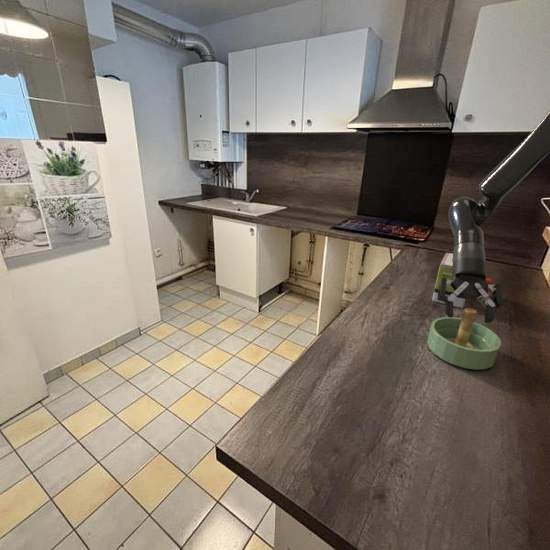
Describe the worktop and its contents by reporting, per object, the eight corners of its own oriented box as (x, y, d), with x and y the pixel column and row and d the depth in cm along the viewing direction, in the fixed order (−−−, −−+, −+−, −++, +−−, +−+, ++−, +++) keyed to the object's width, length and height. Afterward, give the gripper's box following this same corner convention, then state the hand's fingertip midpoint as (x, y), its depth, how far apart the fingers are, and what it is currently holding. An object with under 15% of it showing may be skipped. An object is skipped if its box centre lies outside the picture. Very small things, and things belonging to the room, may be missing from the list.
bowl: (453, 330, 88) (458, 312, 85) (508, 362, 74) (515, 342, 72) (414, 341, 82) (418, 323, 80) (465, 378, 69) (472, 357, 67)
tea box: (437, 286, 116) (446, 251, 110) (466, 293, 111) (477, 256, 105) (431, 301, 105) (440, 262, 99) (463, 309, 99) (475, 269, 94)
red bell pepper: (465, 291, 112) (470, 273, 109) (483, 292, 111) (488, 274, 108) (471, 298, 107) (477, 280, 104) (490, 300, 106) (496, 281, 103)
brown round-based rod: (456, 340, 82) (467, 303, 77) (477, 353, 77) (490, 313, 72) (441, 345, 80) (451, 307, 75) (461, 358, 75) (474, 318, 70)
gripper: (443, 253, 78) (442, 311, 73) (506, 259, 74) (509, 320, 69) (436, 265, 85) (434, 318, 79) (492, 271, 81) (494, 327, 75)
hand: (469, 319), depth 74 cm, fingers open, 8 cm apart
